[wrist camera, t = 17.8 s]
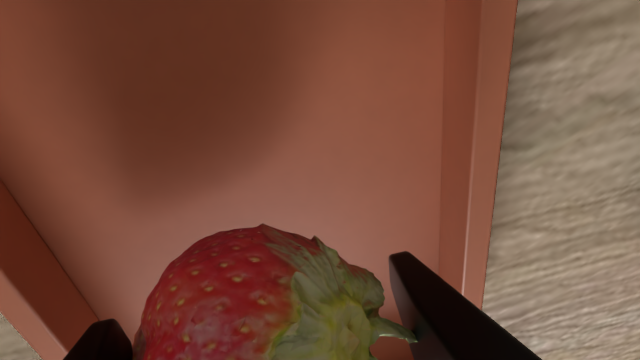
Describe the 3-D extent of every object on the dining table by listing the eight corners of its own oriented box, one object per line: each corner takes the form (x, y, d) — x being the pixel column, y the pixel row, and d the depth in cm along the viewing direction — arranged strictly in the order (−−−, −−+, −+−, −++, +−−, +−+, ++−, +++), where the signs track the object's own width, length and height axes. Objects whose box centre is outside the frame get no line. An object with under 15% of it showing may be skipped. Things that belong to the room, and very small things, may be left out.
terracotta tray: (446, 350, 16) (471, 405, 14) (160, 418, 15) (152, 483, 14) (473, -210, 7) (548, -233, 5) (-209, -95, 6) (-357, -81, 5)
